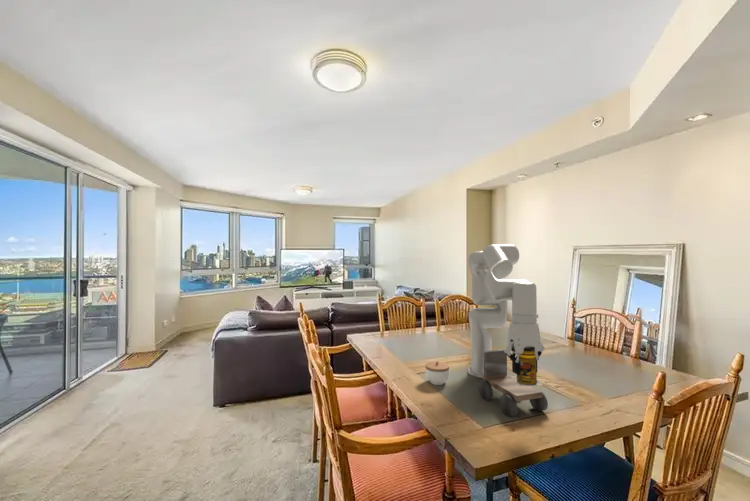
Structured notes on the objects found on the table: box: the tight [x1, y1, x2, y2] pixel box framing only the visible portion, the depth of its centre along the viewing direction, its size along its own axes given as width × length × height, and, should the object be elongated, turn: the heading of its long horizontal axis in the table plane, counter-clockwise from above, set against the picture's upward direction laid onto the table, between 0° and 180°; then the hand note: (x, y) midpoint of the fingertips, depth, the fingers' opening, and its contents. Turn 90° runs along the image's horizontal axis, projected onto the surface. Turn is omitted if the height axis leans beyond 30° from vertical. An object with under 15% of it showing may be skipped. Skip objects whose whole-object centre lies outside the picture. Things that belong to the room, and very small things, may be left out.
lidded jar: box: [424, 360, 450, 386], centre depth 150 cm, size 11×11×9 cm
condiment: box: [511, 347, 543, 387], centre depth 112 cm, size 7×8×12 cm
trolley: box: [477, 348, 549, 418], centre depth 128 cm, size 21×15×18 cm
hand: (524, 371), depth 112 cm, fingers closed on condiment, 6 cm apart
